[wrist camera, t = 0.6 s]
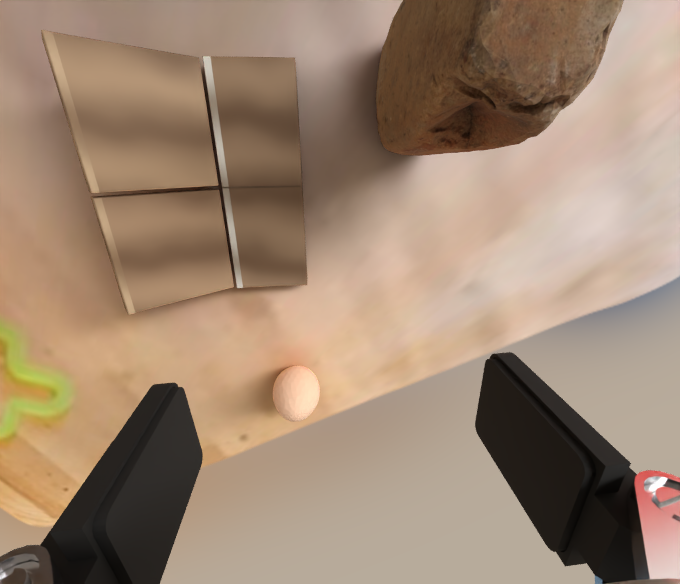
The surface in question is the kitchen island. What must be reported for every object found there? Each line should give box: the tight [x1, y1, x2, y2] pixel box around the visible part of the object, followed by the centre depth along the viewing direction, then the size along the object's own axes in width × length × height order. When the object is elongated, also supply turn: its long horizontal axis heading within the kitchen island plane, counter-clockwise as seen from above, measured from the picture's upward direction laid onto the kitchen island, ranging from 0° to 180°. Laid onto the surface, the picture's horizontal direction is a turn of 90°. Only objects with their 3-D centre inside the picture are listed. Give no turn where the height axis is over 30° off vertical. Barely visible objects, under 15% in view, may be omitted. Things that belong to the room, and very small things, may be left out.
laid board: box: [202, 56, 307, 288], centre depth 32 cm, size 21×8×2 cm, turn 1°
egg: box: [273, 366, 320, 422], centre depth 39 cm, size 6×6×8 cm
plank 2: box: [91, 189, 234, 315], centre depth 30 cm, size 10×10×2 cm
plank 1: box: [41, 30, 218, 193], centre depth 26 cm, size 10×10×2 cm
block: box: [376, 0, 623, 155], centre depth 22 cm, size 11×8×20 cm
